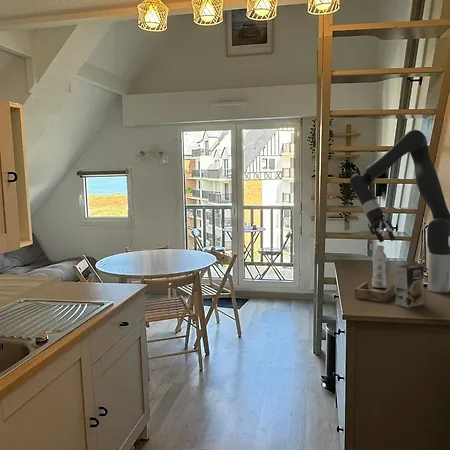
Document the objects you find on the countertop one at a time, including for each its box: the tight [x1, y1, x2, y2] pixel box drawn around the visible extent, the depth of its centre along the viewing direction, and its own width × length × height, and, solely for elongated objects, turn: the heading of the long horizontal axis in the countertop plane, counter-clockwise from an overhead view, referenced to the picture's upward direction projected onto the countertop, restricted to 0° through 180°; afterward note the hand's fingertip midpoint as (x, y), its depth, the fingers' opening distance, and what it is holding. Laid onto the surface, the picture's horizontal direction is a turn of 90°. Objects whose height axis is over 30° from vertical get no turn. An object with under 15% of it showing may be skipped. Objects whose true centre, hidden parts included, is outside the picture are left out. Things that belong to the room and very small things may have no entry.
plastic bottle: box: [371, 245, 388, 289], centre depth 204 cm, size 6×7×20 cm
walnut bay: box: [354, 281, 396, 303], centre depth 191 cm, size 13×15×4 cm
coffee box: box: [395, 263, 425, 309], centre depth 177 cm, size 9×6×16 cm
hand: (387, 240), depth 204 cm, fingers open, 8 cm apart
